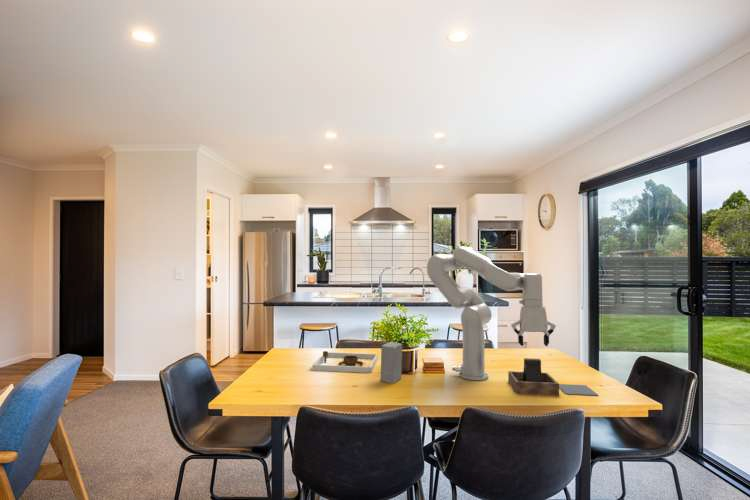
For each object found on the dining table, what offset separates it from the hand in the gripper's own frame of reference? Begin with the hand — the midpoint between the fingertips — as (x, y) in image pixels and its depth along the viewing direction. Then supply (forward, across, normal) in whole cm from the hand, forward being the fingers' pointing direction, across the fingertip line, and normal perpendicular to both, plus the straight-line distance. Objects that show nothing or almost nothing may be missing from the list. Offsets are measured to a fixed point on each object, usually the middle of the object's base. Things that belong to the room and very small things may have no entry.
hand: (533, 345), depth 163 cm
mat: (+18, +16, 0) cm, 24 cm away
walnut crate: (+18, -1, 0) cm, 18 cm away
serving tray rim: (+16, -83, +25) cm, 88 cm away
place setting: (+17, -83, +26) cm, 89 cm away
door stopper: (+18, -1, 0) cm, 18 cm away
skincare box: (+17, -59, +2) cm, 61 cm away
